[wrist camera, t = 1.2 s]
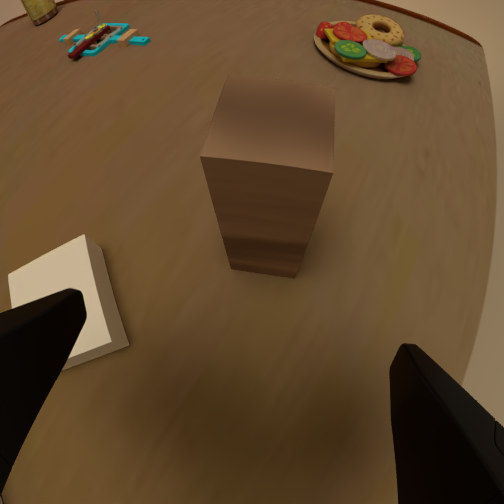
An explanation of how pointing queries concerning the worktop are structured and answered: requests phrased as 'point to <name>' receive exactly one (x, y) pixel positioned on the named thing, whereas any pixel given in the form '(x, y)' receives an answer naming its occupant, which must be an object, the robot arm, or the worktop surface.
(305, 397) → the worktop surface
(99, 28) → the multicoloured piece
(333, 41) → the toy food set
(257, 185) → the walnut column
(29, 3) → the sauce bottle
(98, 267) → the cream plinth
